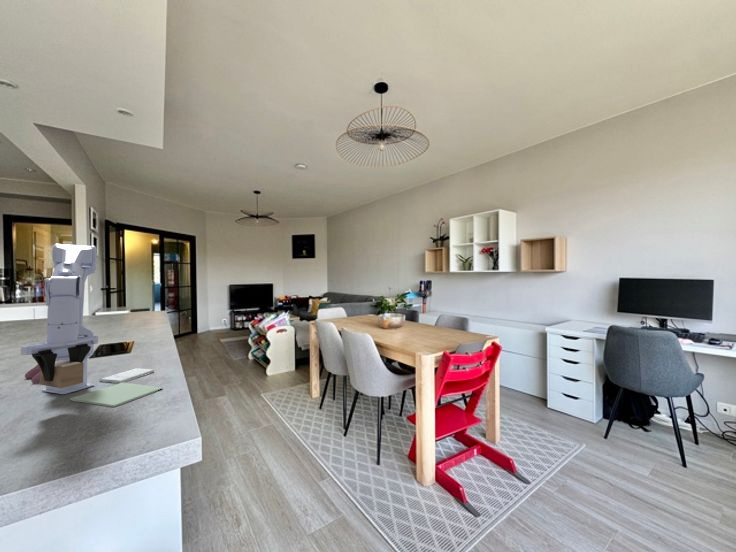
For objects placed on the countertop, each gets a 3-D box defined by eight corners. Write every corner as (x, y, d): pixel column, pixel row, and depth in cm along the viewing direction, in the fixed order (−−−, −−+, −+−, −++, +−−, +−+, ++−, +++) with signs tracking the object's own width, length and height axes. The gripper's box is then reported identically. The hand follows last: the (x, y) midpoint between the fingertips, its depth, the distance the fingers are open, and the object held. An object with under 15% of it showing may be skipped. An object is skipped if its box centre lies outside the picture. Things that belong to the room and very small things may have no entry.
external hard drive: (154, 374, 111) (119, 385, 99) (135, 372, 112) (99, 383, 100) (154, 369, 111) (120, 380, 99) (135, 368, 112) (99, 378, 100)
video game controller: (48, 385, 100) (62, 364, 103) (30, 383, 97) (45, 360, 99) (39, 380, 105) (53, 360, 108) (22, 377, 102) (36, 356, 105)
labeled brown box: (40, 384, 77) (40, 363, 77) (62, 379, 81) (63, 359, 81) (60, 388, 74) (61, 366, 74) (83, 382, 79) (83, 362, 79)
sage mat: (70, 400, 85) (70, 398, 85) (122, 383, 98) (122, 382, 98) (113, 407, 80) (113, 405, 80) (162, 389, 94) (162, 387, 94)
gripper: (35, 328, 70) (33, 388, 70) (106, 320, 84) (104, 371, 83) (16, 326, 72) (14, 385, 72) (88, 319, 86) (87, 368, 86)
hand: (61, 377), depth 78 cm, fingers closed on labeled brown box, 4 cm apart
